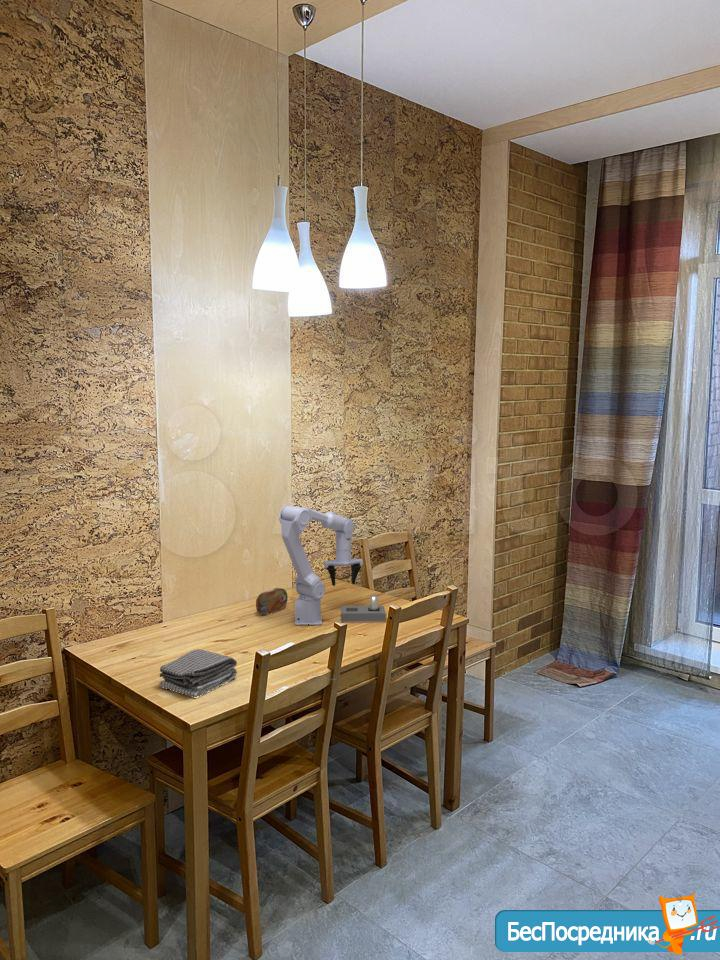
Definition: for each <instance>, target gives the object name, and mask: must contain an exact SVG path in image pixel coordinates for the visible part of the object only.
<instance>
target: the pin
mask: <svg viewBox="0 0 720 960" xmlns="http://www.w3.org/2000/svg"><path fill="white" fill-rule="evenodd" d="M369 606H370V611H378V606H379V595H378V594H377V595H376V594H372V595H370V596H369Z"/></svg>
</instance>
